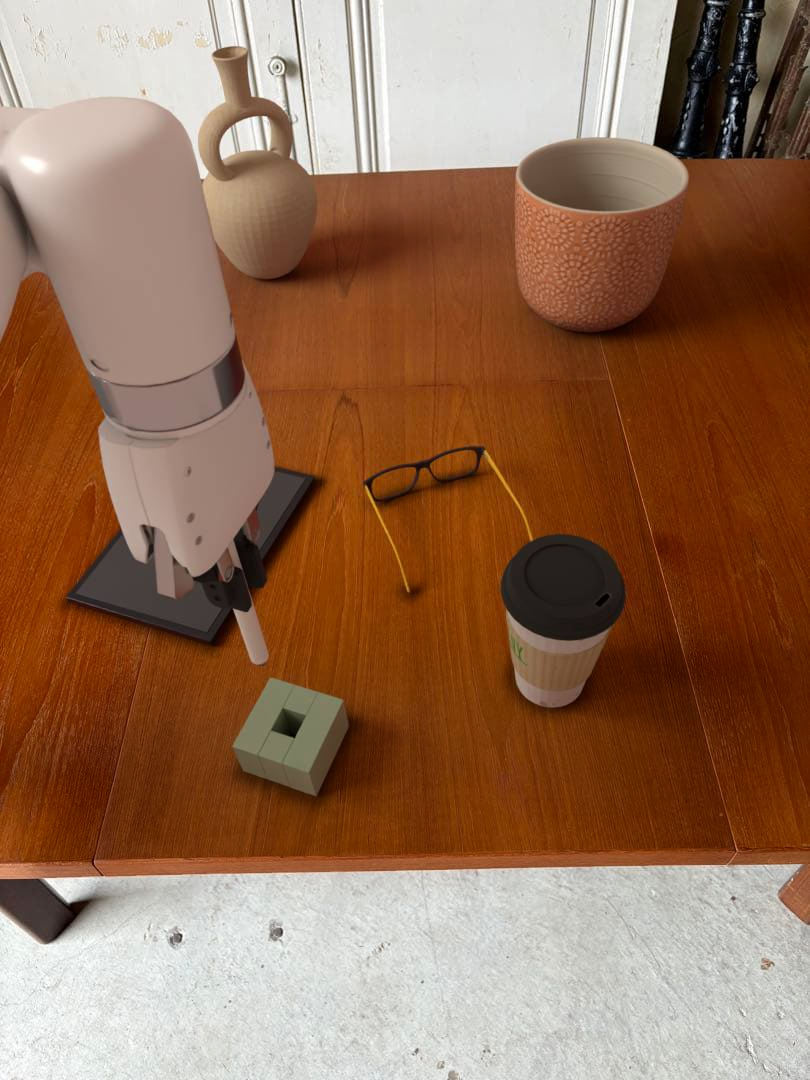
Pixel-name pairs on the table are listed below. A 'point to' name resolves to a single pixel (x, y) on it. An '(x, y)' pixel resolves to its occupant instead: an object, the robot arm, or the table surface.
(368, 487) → the eyeglasses
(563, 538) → the coffee cup
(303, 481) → the tablet
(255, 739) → the stylus holder
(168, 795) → the table surface
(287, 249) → the vase
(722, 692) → the table surface
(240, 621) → the stylus
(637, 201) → the planter
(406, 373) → the table surface
